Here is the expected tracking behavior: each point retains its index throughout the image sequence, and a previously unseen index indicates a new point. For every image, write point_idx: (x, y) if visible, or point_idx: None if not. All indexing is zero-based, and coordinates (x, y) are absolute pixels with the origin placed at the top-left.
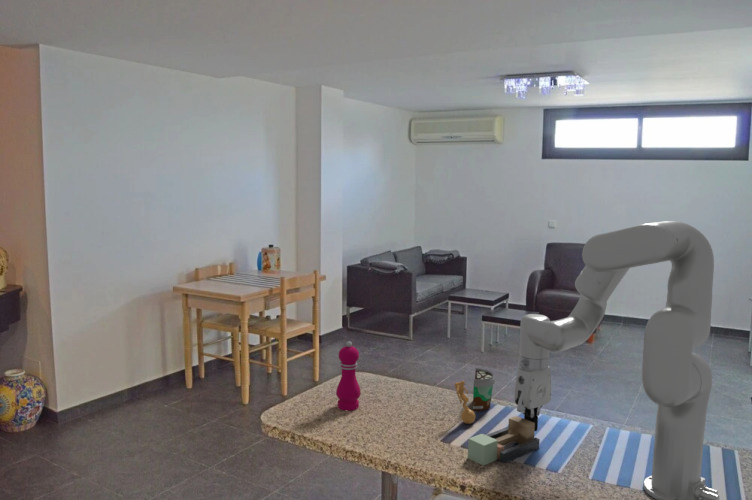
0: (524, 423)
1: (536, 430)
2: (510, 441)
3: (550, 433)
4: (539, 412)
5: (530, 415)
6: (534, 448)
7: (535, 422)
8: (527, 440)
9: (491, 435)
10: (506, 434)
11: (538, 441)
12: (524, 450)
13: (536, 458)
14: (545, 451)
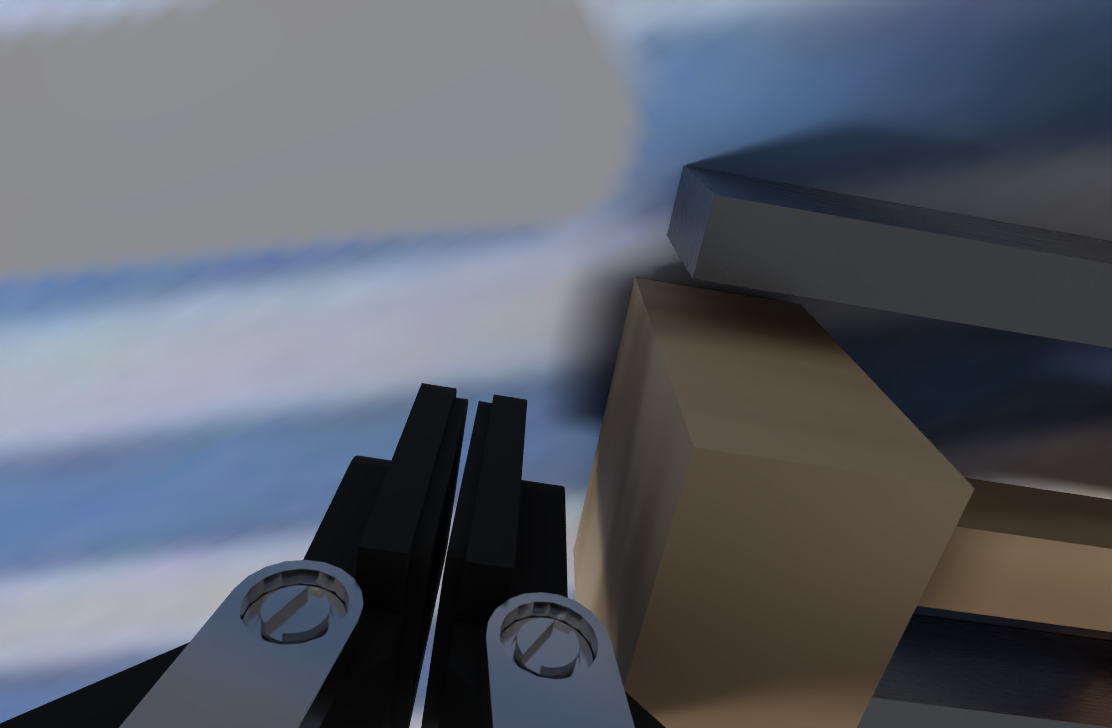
0: (873, 586)
1: (442, 387)
2: (1008, 494)
3: (70, 283)
4: (229, 613)
5: (608, 675)
6: (803, 191)
7: (448, 485)
8: (818, 340)
9: (1007, 719)
10: (991, 614)
11: (732, 192)
12: (1068, 241)
13: (1054, 25)
14: (720, 35)
